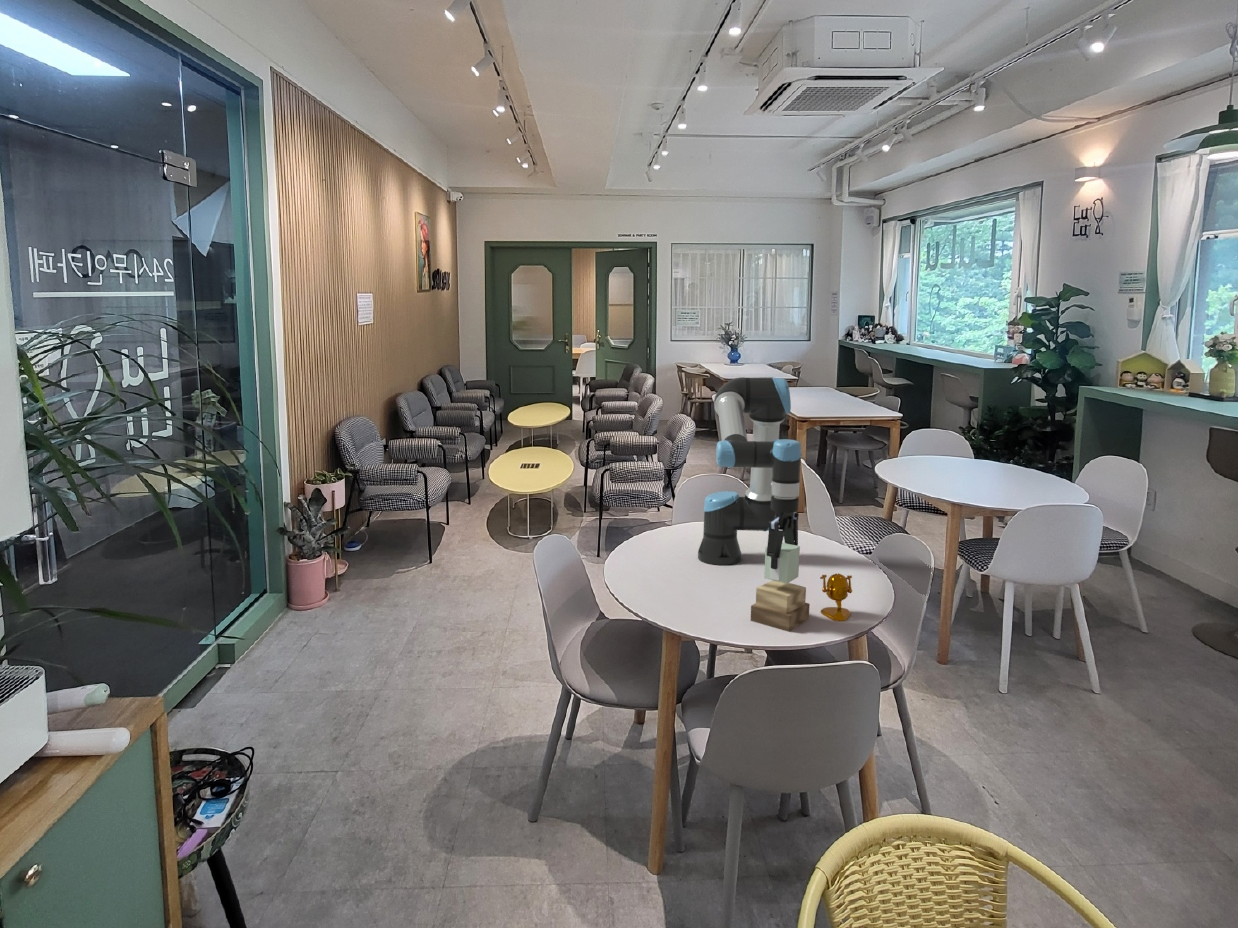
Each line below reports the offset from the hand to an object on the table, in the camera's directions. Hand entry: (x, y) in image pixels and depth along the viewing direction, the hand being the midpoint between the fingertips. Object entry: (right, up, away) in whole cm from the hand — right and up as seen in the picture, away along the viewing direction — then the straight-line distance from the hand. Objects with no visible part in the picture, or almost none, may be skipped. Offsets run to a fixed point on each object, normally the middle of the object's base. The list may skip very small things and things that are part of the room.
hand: (781, 575), depth 228 cm
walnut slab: (0, -13, +3) cm, 14 cm away
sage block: (0, -1, 0) cm, 1 cm away
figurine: (+17, -12, +7) cm, 22 cm away
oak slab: (0, -8, +2) cm, 9 cm away
